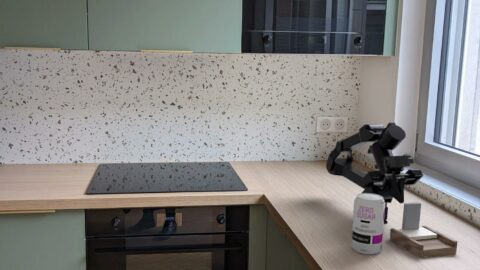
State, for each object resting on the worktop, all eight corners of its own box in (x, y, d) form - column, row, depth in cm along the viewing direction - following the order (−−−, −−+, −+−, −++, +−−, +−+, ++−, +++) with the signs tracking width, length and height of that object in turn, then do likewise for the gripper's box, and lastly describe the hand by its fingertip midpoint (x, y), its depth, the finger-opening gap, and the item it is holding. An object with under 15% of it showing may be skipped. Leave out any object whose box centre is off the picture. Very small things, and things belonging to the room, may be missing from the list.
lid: (395, 232, 153) (397, 203, 152) (422, 230, 156) (424, 201, 155) (409, 240, 147) (411, 210, 146) (437, 237, 150) (440, 208, 149)
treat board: (389, 240, 153) (390, 228, 153) (424, 236, 157) (425, 225, 157) (419, 257, 141) (420, 245, 140) (456, 253, 145) (457, 241, 144)
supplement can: (376, 244, 149) (380, 192, 147) (385, 255, 141) (389, 201, 139) (347, 243, 149) (351, 192, 147) (355, 255, 141) (359, 200, 139)
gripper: (369, 144, 156) (388, 191, 148) (422, 143, 162) (443, 187, 154) (353, 164, 165) (370, 209, 157) (404, 162, 171) (423, 205, 163)
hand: (402, 202), depth 157 cm, fingers closed
